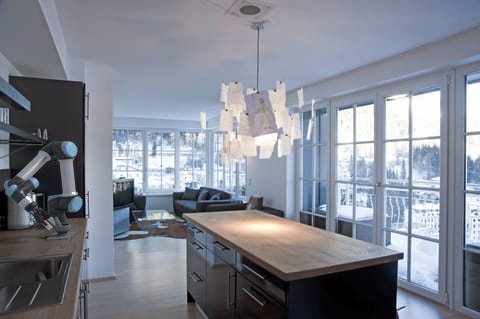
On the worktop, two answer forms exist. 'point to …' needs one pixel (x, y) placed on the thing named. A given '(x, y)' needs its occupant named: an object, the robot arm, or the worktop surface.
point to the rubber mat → (55, 237)
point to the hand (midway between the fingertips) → (54, 226)
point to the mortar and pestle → (61, 227)
